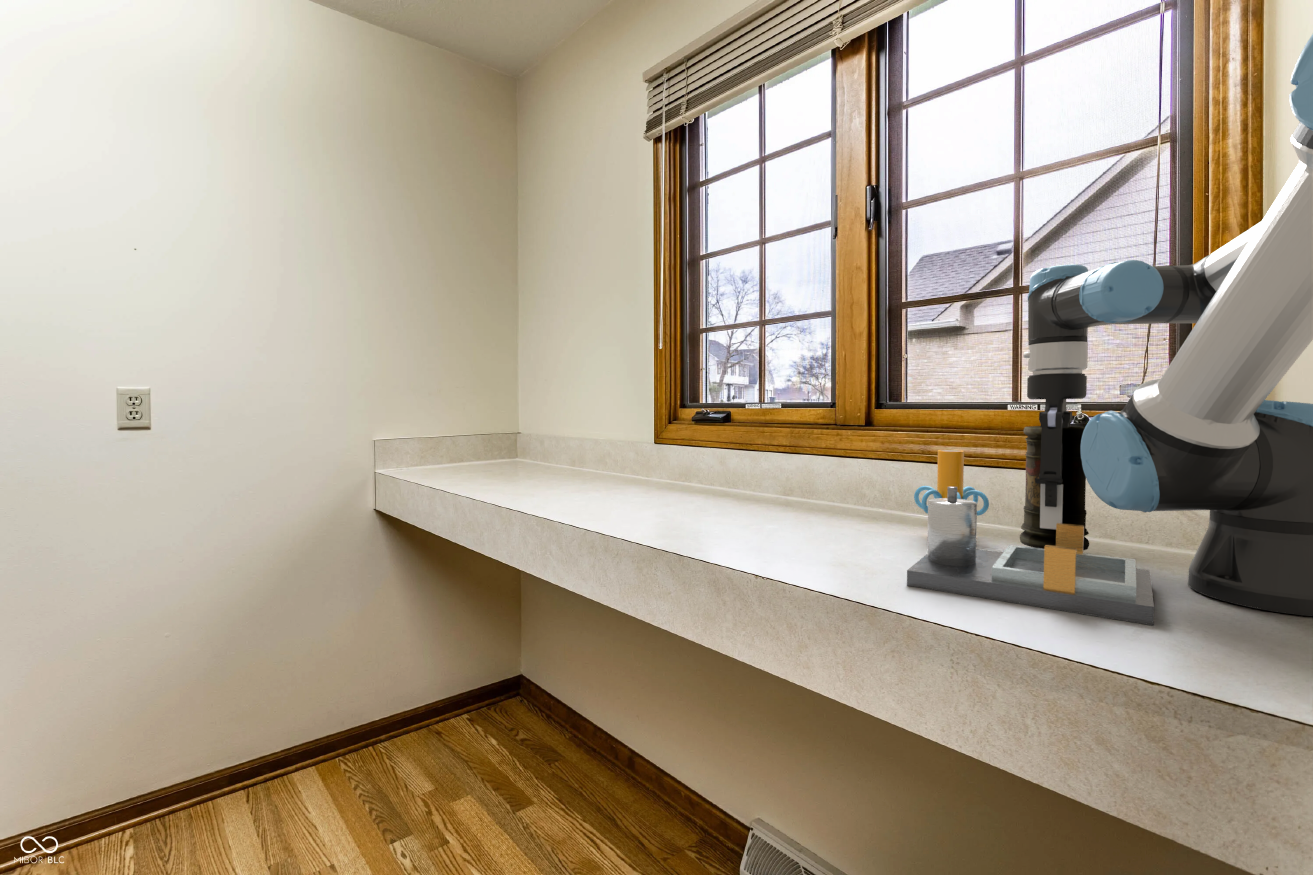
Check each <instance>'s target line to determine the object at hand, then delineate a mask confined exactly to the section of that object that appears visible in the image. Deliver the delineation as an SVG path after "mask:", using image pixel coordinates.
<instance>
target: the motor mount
mask: <svg viewBox="0 0 1313 875" xmlns="http://www.w3.org/2000/svg"><path fill="white" fill-rule="evenodd" d="M927 506H928V514H927V544H926V545H927V553H926V554H925V555H924V556H923V557H921V558H919V560H918V561H917V562H915V563H914V564H913V565H912V566H910V567H909V568H908V569H907V570H906V586H908V587H915V588H920V589H927V590H932V591H939V592H946V593H950V594H951V593H952V594H957V595H964V596H970V597H976V598H981V599H986V600H987V599H989V600H995V601H1001V602H1005V603H1013V604H1017V605H1018V604H1019V605H1025V606H1032V607H1037V608H1044V609H1049V610H1055V611H1062V612H1068V613H1075V614H1079V615H1086V616H1093V617H1098V618H1106V619H1109V620H1110V619H1112V620H1117V621H1124V622H1129V623H1136V624H1142V625H1147V626H1148V625H1149V626H1154V617H1155V616H1154V614H1155V604H1154V598H1153V596H1154V595H1153V587H1152V579H1151V572H1150V569H1145V568H1136V558H1127V557H1119V556H1111V555H1110V556H1109V555H1101V554H1092V553H1085V552H1084V551H1083V539H1084V526H1083V525H1072V524H1062V523H1057V524H1056V546H1051V545H1045V549H1042V548H1034V547H1030V546H1022V545H1013V544H1008V546H1006V548H1005V549H1004V550H1003V551H996V550H987V549H979V548H977V528H978V527H977V526H978V523H977V518H978V516H977V511H978V503H976V502H974V501H973V500H970V499H967V500H964V499H957V487H948V493H947V498H937V499H934V498H931V499H927Z"/></svg>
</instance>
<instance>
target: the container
mask: <svg viewBox="0 0 1313 875" xmlns="http://www.w3.org/2000/svg"><path fill="white" fill-rule="evenodd" d="M1085 427H1086V426H1085ZM1085 427H1084V426H1070V427H1068V428H1064V427H1063V428H1062V443H1063V456H1062V479H1063V481H1062V483H1061V484H1063V510H1062V524H1072V525H1083V526H1084V539H1083V552H1084V551H1087V550H1088V549H1089V547H1090V541H1089V539H1088V538H1086V536H1088V535H1089V534H1090V533H1089V531H1088V529H1087V528H1086V527H1087V526H1086V525H1087V523H1086V520H1087V514H1088V512H1087V510H1086V489H1087V488H1086V485H1087V482H1086V481H1087V479H1086V476H1085V474H1084V470H1083V466H1082V460H1081V439H1082V435H1083V432H1084V429H1085ZM1041 433H1042V427H1041V425H1034V426H1033V425H1032V426H1031V425H1029V426H1025V427H1023V434H1025V436H1027V437H1026V438H1025V439H1024V440H1025V441H1026V442H1025V443H1026V453H1025V496H1024V497H1025V498H1024V505H1023V523H1022V525H1021V526H1020V529H1022V532H1021V533H1020V535H1019V540H1020V543H1021V544H1022V545H1025V546H1026V547H1033V548H1042V549H1045V545H1051V546H1056V529H1046V528H1040V492H1041V484H1036V483H1035V478H1039V475H1040V460H1041Z"/></svg>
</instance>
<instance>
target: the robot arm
mask: <svg viewBox="0 0 1313 875" xmlns="http://www.w3.org/2000/svg"><path fill="white" fill-rule="evenodd" d="M1290 84H1291V85H1294V86H1295V88H1294V90H1292V91H1291V92H1290V93H1289V95H1288V99H1289V105H1290V109H1291V111H1292V114H1293V115H1294V116H1295V118H1296V120H1297V121H1299V123H1298V125H1297V126H1296V128H1294V131H1293V133H1292V134H1291V136H1290V138H1289V139H1290V143H1291V145H1292V147H1293V149H1294V152H1295V154H1296V155H1297V157H1298V163H1297V165H1296V167H1295V168H1294V170H1292V173H1291V174H1290V176H1289V177H1288V179H1287V181H1286V182H1285V183H1284V186H1282V188H1281V190H1280V192H1279V193H1278V194H1277V196H1276V198H1275V199H1274V200H1273V203H1272V204H1271V206H1270V207H1269V209H1268V210H1267V212H1266V214H1265V215H1264V217H1263V218H1262V220H1261V221H1259V222H1258V223H1256V224H1255V225H1253V226H1251V227H1250V228H1248V229H1247V230H1246V231H1244V232H1242V233H1241V234H1239V235H1238V236H1236V237H1235V238H1233V239H1232V240H1230V241H1229V242H1227V243H1226V244H1224V245H1222V246H1221V247H1219V248H1218V249H1216V250H1215V251H1213V252H1212V253H1210V254H1209V255H1206V256H1205V257H1203V258H1202V259H1201V260H1198V261H1197V262H1195V263H1192V264H1189V265H1150V264H1149V263H1147V262H1145V261H1143V260H1138V259H1129V260H1124V261H1123V260H1122V261H1120V262H1118V261H1117V262H1110V263H1106V264H1105V265H1101V266H1100V267H1098V268H1095V269H1093V270H1089V269H1088V267H1087V266H1085V265H1083V264H1061V265H1054V266H1053V265H1052V266H1050V267H1042V268H1040V269H1037V270H1035V271H1034V272H1033V273H1032V274H1031V276H1030V278H1029V287H1028V289H1029V290H1028V295H1027V302H1028V304H1027V305H1028V306H1027V311H1028V312H1027V325H1028V326H1027V329H1028V332H1027V333H1028V334H1027V339H1028V348H1027V349H1028V351H1024V353H1023V358H1024V359H1028V360H1027V371H1029V372H1032V374H1031V375H1028V377H1027V378H1026V379H1027V380H1026V381H1027V382H1026V383H1027V384H1026V386H1027V388H1026V389H1027V390H1026V391H1027V392H1026V396H1027V399H1029V400H1045V404H1044V411H1039V415H1038V420H1039V424H1040V426H1041V427H1042V433H1041V460H1040V475H1039V478H1035V483H1036V484H1041V492H1040V528H1046V529H1056V524H1057V523H1062V510H1063V484H1061V483H1062V481H1063V479H1062V456H1063V443H1062V428H1063V427H1064V428H1068V427H1071V424H1072V422H1073V411H1069V410H1067V400H1079V399H1080V400H1082V399H1085V398H1086V397H1087V390H1088V389H1087V388H1088V387H1087V384H1088V383H1087V382H1088V376H1087V375H1086V374H1085V373H1083V371H1084V370H1087V368H1088V362H1089V361H1088V358H1089V357H1088V356H1089V355H1088V354H1089V341H1088V339H1089V338H1088V333H1089V332H1088V331H1089V328H1093V327H1100V326H1106V325H1107V326H1108V325H1109V326H1111V325H1149V324H1151V325H1152V324H1154V325H1155V324H1157V325H1158V324H1195V325H1194V326H1193V328H1192V329H1191V331H1190V332H1189V334H1188V335H1187V337H1186V339H1185V340H1184V342H1183V343H1182V345H1181V346H1180V348H1179V350H1178V351H1177V353H1176V354H1175V356H1174V357H1173V359H1172V361H1171V362H1170V364H1169V366H1168V367H1167V369H1166V370H1165V371H1164V372H1163V375H1162V376H1161V378H1158V379H1157V378H1156V379H1152V380H1149V381H1148V380H1147V381H1145V382H1143V383H1141V384H1139V385H1138V386H1137V387H1136V389H1135V390H1134V391H1133V393H1132V394H1131V397H1130V398H1129V399H1128V401H1127V402H1126V404H1125V405H1124V406H1123V409H1122V410H1120V411H1115V410H1108V411H1105V412H1101V413H1098V414H1096V415H1094V416H1093V417H1091V418H1090V420H1089V421H1088V422H1087V424H1086V425H1085V429H1084V432H1083V435H1082V439H1081V460H1082V466H1083V470H1084V474H1085V476H1086V481H1087V484H1088V485H1089V487H1090V488H1091V490H1092V491H1093V493H1094V494H1095V495H1096V496H1097V498H1098V499H1100V501H1102V502H1103V503H1105V504H1106V505H1108V506H1109V507H1111V508H1113V509H1115V510H1116V509H1117V510H1120V511H1121V510H1123V511H1134V512H1135V511H1137V512H1143V513H1152V512H1179V511H1182V512H1183V511H1185V512H1186V511H1187V512H1188V511H1209V520H1208V525H1207V526H1208V528H1207V530H1206V531H1205V534H1204V536H1203V537H1202V540H1201V541H1200V544H1199V546H1198V548H1197V549H1196V551H1195V554H1194V556H1193V559H1192V560H1191V563H1190V564H1189V568H1188V575H1187V576H1188V577H1187V585H1188V587H1190V588H1191V590H1193V591H1196V592H1198V593H1199V594H1202V595H1204V596H1207V597H1208V598H1209V597H1210V598H1213V599H1216V600H1219V601H1222V602H1227V603H1231V604H1233V605H1239V606H1243V607H1247V608H1252V609H1258V610H1262V611H1269V612H1276V613H1282V614H1290V615H1296V616H1305V617H1306V616H1309V617H1313V403H1309V402H1297V401H1287V400H1286V401H1285V400H1284V401H1278V400H1268V399H1267V398H1268V396H1269V395H1270V394H1271V392H1273V390H1274V389H1275V388H1276V386H1277V385H1278V384H1279V382H1280V381H1282V379H1283V378H1284V376H1285V375H1286V374H1287V372H1289V370H1290V369H1291V367H1292V366H1293V365H1294V364H1295V363H1296V362H1297V360H1298V358H1299V357H1300V356H1301V355H1302V354H1303V352H1304V351H1305V350H1306V349H1307V347H1309V345H1310V344H1311V343H1312V342H1313V33H1312V34H1311V36H1310V37H1309V39H1308V40H1307V42H1306V43H1305V45H1304V47H1303V48H1302V50H1301V52H1300V54H1299V56H1298V58H1297V60H1296V63H1295V65H1294V68H1293V71H1292V73H1291V78H1290Z"/></svg>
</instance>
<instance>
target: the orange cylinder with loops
mask: <svg viewBox="0 0 1313 875" xmlns="http://www.w3.org/2000/svg"><path fill="white" fill-rule="evenodd" d="M964 464H965V450H959V449H938V450H937V473H936V474H937V477H936V478H937V480H936V485H937V486H936V487H937V488H936V489H935V488H934V487H932V486H930V485H921V486H919V487H918V488H916V490H915V492H914V493H913V494H914V495H913V499H914V502H915V504H916V506H917V507H918V508H920V509H922V510H923V512H925V513H926V514H927V515H928V500H929V499H928V498H929V497H930V496H931V495H932V496H933V499H937V498H947V493H948V487H957V499H964V500H968V498H970V497H971V496H972V497H973V498H972V501H974V502H976V503H977V504H978V503H979V497H980V498H981V499H982V502H983V506H982V508H980V509H979V510H977V517H978V516H983V514H985V513H986V512H987V511H988V509H989V507H990V502H989V498H988V496H987V495H986V494H985V493H984V492H983V491H980V490H978V489H977V490H976V489H975V488H974V487H972V486H965V487H964V475H965V474H964V472H965V471H964V468H965V467H964V466H965V465H964ZM924 491H926V492H925V493H924V494H923V495H922V498H921V500H920V494H921V492H924Z"/></svg>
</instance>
